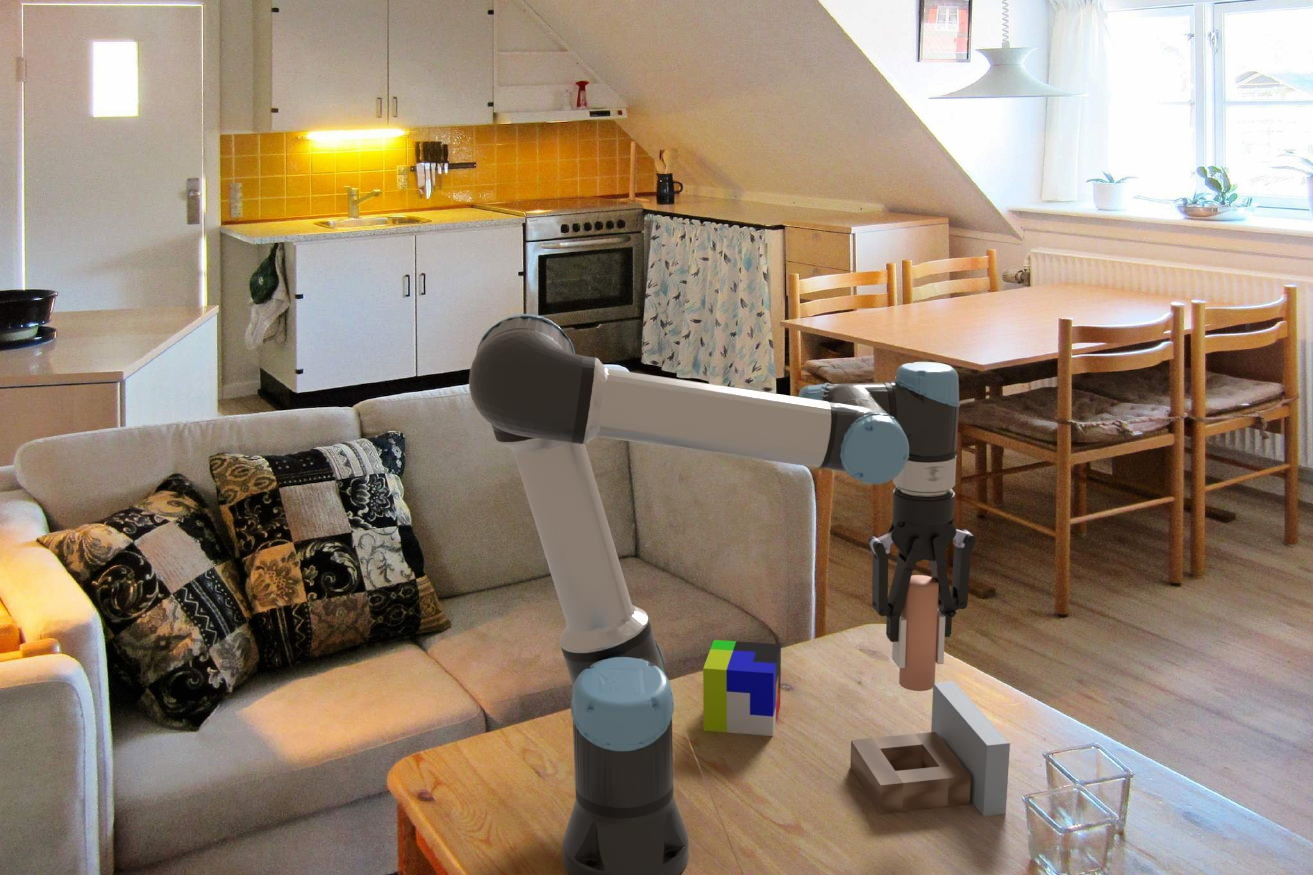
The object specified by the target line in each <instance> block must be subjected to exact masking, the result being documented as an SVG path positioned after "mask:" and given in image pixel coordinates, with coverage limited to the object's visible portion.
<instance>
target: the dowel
mask: <svg viewBox="0 0 1313 875" xmlns="http://www.w3.org/2000/svg"><path fill="white" fill-rule="evenodd" d="M938 591H939V583H938V582H937V581H936V580H935V579H934V578H933V577H932V576H929V575H921V574H912V576H911V579H910V583H909V587H908V591H907V595H906V598H905V602H904V606H903V610H902V616H903V617H904V618H905V619H906V620H907V624H906V653H905V668H899V675H898V676H899V678H898V682H899V685H900V687H902V688H903V689H906V690H909V691H913V692H925V691H926V692H927V691H929V690H933V687H934V686H935V683H936V665H937V663H936V640H937V616H938V610H939V607H938Z"/></svg>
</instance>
